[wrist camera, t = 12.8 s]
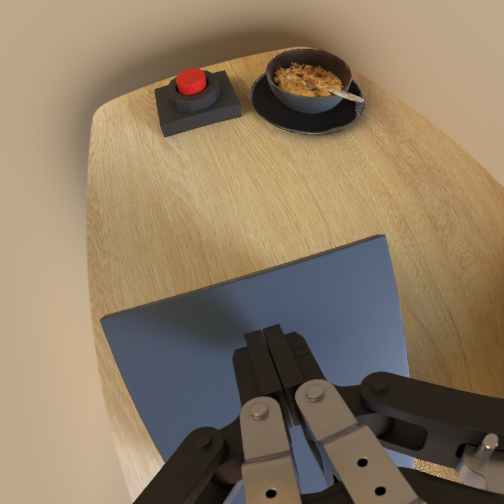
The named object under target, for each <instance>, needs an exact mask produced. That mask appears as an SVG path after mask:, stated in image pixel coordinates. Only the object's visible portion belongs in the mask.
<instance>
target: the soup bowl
mask: <svg viewBox="0 0 504 504" xmlns="http://www.w3.org/2000/svg"><path fill="white" fill-rule="evenodd" d="M250 99H251V102H252V104H253V106H254V108H255V110H256V111H257V112H258V113H259V115H261V116H262V117H263V118H264V119H265V120H267V121H268V122H270V123H271V124H273V125H275V126H276V127H279V128H281V129H284V130H287V131H289V132H295V133H301V134H305V135H307V134H319V135H320V134H329V133H333V132H337V131H341V130H342V129H344V128H346V127H347V126H349V125H351V124H352V123H354V121H356V119H358V117H359V116H360V115H362V112H363V110H364V108H365V102H364V97H363V94H362V93H361V90H360V88H359V87H358V85H357V84H356V83H355V82H354V81H353V80H352V75H351V71H350V68H349V67H348V65H347V64H346V63H345V62H344V61H343V60H341V59H340V58H338V57H336V56H335V55H332V54H330V53H327V52H325V51H321V50H314V49H296V50H290V51H285V52H282V53H280V54H278V55H277V56H274V57H273V59H272V60H271V61H270V62H269V63H268V66H267V68H266V72H265V73H264V74H262V75H261V76H260V77H259V78H258V79H257V80H256V81H255V83H254V84H253V85H252V88H251V98H250Z"/></svg>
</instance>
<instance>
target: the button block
mask: <svg viewBox="0 0 504 504" xmlns="http://www.w3.org/2000/svg"><path fill="white" fill-rule="evenodd" d="M203 72H204V73H205V78H206V83H207V86H206V88H205V89H204V90H203V91H202V92H200V93H198V94H194V95H191V96H188V95H183V94H181V93H180V92H179V90H178V87H177V83H176V78H174V79H173V80H171V82H170V83H169V85H167V86H163V87H160V88H157V89H155V97H156V103H157V109H158V115H159V121H160V126H161V129H162V132H163V134H164V137H167V136H171V135H174V134H177V133H181V132H184V131H187V130H191V129H194V128H198V127H201V126H205V125H209V124H213V123H216V122H220V121H224V120H228V119H232V118H236V117H240V116H241V107H240V103H239V100H238V98H237V96H236V94H235V92H234V89H233V87H232V85H231V83H230V80H229V78H228V76H227V74H226V72H225V70H224V71H220V72H215V73H211V72H209V71H203Z"/></svg>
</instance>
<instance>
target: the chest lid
mask: <svg viewBox="0 0 504 504" xmlns="http://www.w3.org/2000/svg"><path fill="white" fill-rule="evenodd" d="M100 322H101V325H102V327H103V330H104V333H105V335H106V338H107V341H108V343H109V346H110V349H111V351H112V354H113V356H114V359H115V361H116V363H117V366H118V368H119V371H120V373H121V375H122V378H123V380H124V382H125V384H126V387H127V389H128V391H129V393H130V396H131V398H132V400H133V402H134V404H135V406H136V408H137V410H138V412H139V415H140V417H141V419H142V421H143V423H144V425H145V427H146V428H147V430H148V432H149V434H150V436H151V438H152V440H153V442H154V444H155V446H156V447H157V449H158V451H159V453H160V455H161V456H162V458H163V460H164V462H165V463H166V462H167V461H168V460H169V458H170V457H171V456H172V455H173V453H174V452H175V451H176V449H177V448H178V447H179V446H180V444H181V443H182V442H183V440H184V439H185V438H186V437H187V435H188V434H189V433H190V432H192V431H193V430H195V429H197V428H200V427H206V426H209V427H214V428H216V429H218V430H220V429H221V428H223V427H225V426H227V425H229V424H230V423H232V422H233V421H234V420H235V419H236V418H237V417H238V415H239V414H240V410H241V401H240V396H239V391H238V387H237V382H236V377H235V372H234V368H233V363H232V357H233V354H234V351H235V349H239V348H242V347H246V346H247V344H246V340H245V337H244V334H247V333H250V332H253V331H257V330H260V329H261V331H262V329H263V328H266V327H269V326H273V325H276V324H279V325H280V327H281V329H282V331H283V333H284V335H285V334H288V333H291V332H294V331H295V332H297V333H298V334H300V335H301V336H303V337H304V339H305V341H306V342H307V344H308V347H309V348H310V350H311V352H312V354H313V356H314V357H315V359H316V361H317V363H318V365H319V367H320V369H321V371H322V373H323V374H324V376H325V378H326V379H327V380H328V381H329V382H330V383H332V384H334V385H337V386H354V385H360V384H361V382H362V380H363V379H364V378H365V377H366V376H368V375H369V374H371V373H374V372H380V371H383V372H389V373H393V374H396V375H400V376H404V377H408V378H410V377H409V368H408V359H407V351H406V343H405V336H404V329H403V322H402V316H401V310H400V304H399V298H398V293H397V287H396V282H395V277H394V272H393V267H392V262H391V258H390V253H389V249H388V244H387V240H386V236H385V235H374V236H371V237H368V238H365V239H361V240H358V241H355V242H352V243H349V244H346V245H342V246H339V247H336V248H333V249H330V250H326V251H323V252H320V253H317V254H313V255H310V256H307V257H304V258H300V259H297V260H294V261H291V262H287V263H284V264H281V265H278V266H274V267H271V268H268V269H264V270H261V271H258V272H254V273H251V274H248V275H244V276H241V277H237V278H234V279H231V280H227V281H224V282H221V283H217V284H214V285H210V286H207V287H203V288H200V289H197V290H193V291H190V292H186V293H183V294H179V295H176V296H172V297H169V298H165V299H162V300H158V301H155V302H151V303H148V304H144V305H140V306H137V307H133V308H130V309H126V310H122V311H119V312H115V313H112V314H108V315H105V316H104V317H103V318H101V319H100ZM262 334H263V331H262ZM263 337H264V334H263ZM264 340H265V338H264ZM265 343H266V341H265ZM287 408H288V407H287ZM288 411H289V410H288ZM289 415H290V412H289ZM290 418H291V415H290ZM291 422H292V425H293V427H292V428H289V431H290V434H291V438H292V447H293V451H294V456H295V460H296V464H297V468H298V472H299V476H300V480H301V484H302V488H303V492H304V494H307V493H316V492H321V491H323V490H325V489H326V488H328V487H327V484H326V481H325V479H324V477H323V475H322V473H321V471H320V469H319V467H318V465H317V463H316V461H315V459H314V457H313V455H312V453H311V451H310V449H309V447H308V445H307V443H306V441H305V437H304V433H303V430H302V428H301V425H298V426H294V423H293V421H292V418H291ZM384 449H385V451H386V452H387V453H388V455H389V456H390V458H391V459H392V461H393V462H394V463H395V465H396V466H397V467H407V468H412V469H414V457H411V456H408V455H405V454H401V453H398V452H395V451H392V450H389V449H386V448H384ZM230 504H245V498H244V489H243V484H242V486H241V487H240V489H239V490H238V492H237V493H236V495H235V497H234V498H233V500H232V501H231V503H230Z"/></svg>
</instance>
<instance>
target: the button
mask: <svg viewBox="0 0 504 504" xmlns="http://www.w3.org/2000/svg"><path fill="white" fill-rule="evenodd" d="M176 83H177V87H178V90H179V92H180V93H181V94H183V95H188V96H191V95H194V94H198V93H200V92H202V91H203V90H204V89H205V88H206V86H207V83H206V78H205V73H204V72H203V71H202V70H200V69H188V70H185V71H183V72H181V73H180V74H178V76H177V77H176Z"/></svg>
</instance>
